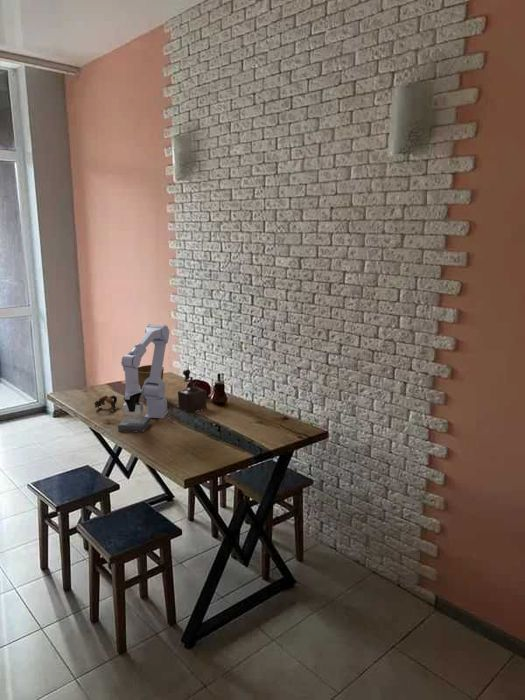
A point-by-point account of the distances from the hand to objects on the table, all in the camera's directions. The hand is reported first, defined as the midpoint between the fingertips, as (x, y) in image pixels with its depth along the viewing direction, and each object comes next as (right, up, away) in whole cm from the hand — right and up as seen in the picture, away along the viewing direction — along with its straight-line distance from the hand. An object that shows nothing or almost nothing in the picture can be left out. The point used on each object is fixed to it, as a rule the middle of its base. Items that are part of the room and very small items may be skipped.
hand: (133, 410), depth 243 cm
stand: (0, -8, +2) cm, 8 cm away
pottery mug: (-20, -3, +27) cm, 34 cm away
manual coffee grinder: (+21, -2, +30) cm, 37 cm away
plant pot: (-2, +2, +46) cm, 46 cm away
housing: (0, -1, 0) cm, 2 cm away
